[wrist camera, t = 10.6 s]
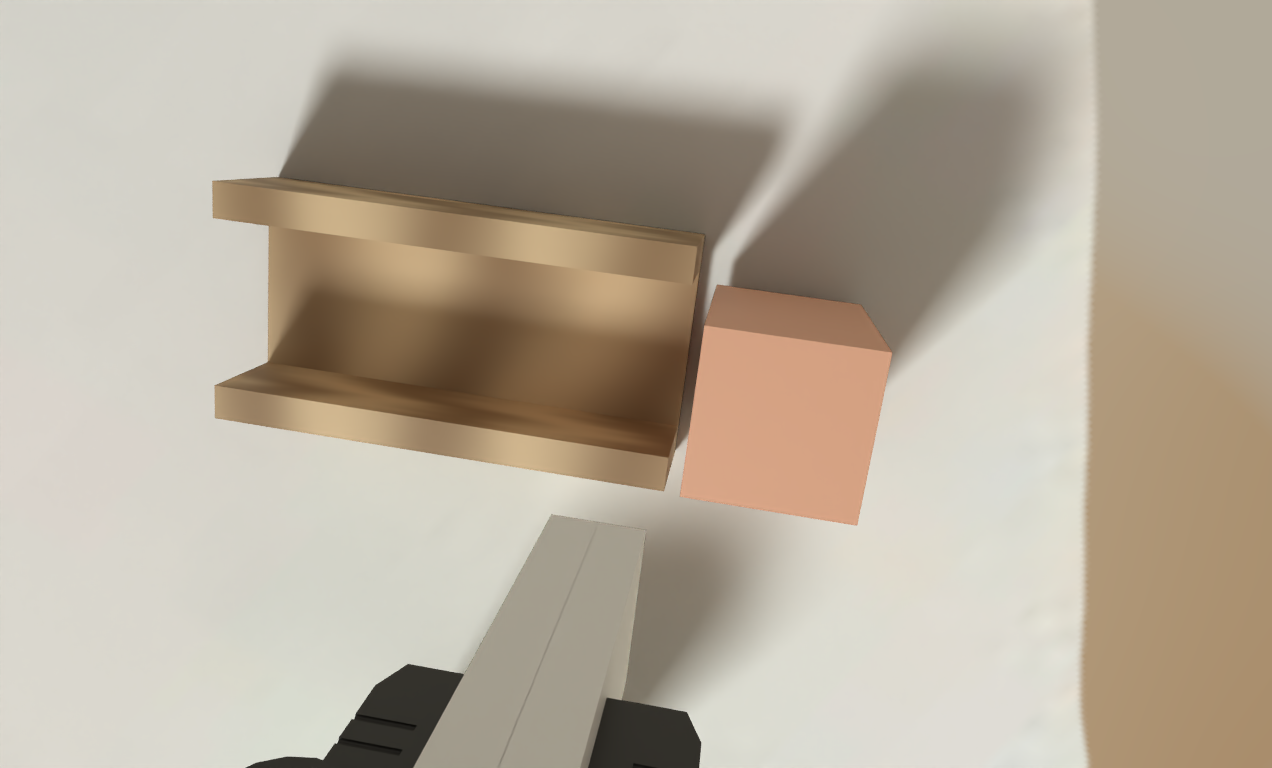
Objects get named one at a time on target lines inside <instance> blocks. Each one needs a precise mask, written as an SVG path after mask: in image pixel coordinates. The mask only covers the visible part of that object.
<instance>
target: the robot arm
mask: <svg viewBox="0 0 1272 768" xmlns="http://www.w3.org/2000/svg"><path fill="white" fill-rule="evenodd" d="M645 536H646V530H643V529H637V528H631V527H625V526H619V525H613V524H607V523H601V522H595V521H588V520H582V519H576V518H570V517H564V516H558V515H551V516H550V518H549V520H548V522H547V524H546V526H545V527H544V529H543V531H542V533H541V535H540V537H539V538H538V540H537V542H536V544H535V546H534V547H533V549H532V551H531V553H530V555H529V557H528V558H527V560H526V562H525V564H524V566H523V568H522V569H521V571H520V573H519V575H518V577H517V579H516V580H515V582H514V584H513V586H512V588H511V590H510V591H509V593H508V595H507V597H506V599H505V601H504V602H503V604H502V606H501V608H500V610H499V612H498V613H497V615H496V617H495V619H494V621H493V623H492V624H491V626H490V628H489V630H488V632H487V634H486V635H485V637H484V639H483V641H482V643H481V645H480V646H479V648H478V650H477V652H476V654H475V656H474V657H473V659H472V661H471V663H470V665H469V667H468V668H467V670H466V672H465V674H460V673H454V672H449V671H443V670H438V669H432V668H427V667H422V666H416V665H411V664H408V665H406V666H404V667H403V668H401V669H400V670H398V671H397V672H395V673H394V674H392V675H391V676H389V677H388V678H386V679H384V680H383V681H381V682H380V683H378V684H377V685H375V687H374V688H373V690H372V691H371V692H370V694H369V695H368V697H367V698H366V700H365V701H364V702H363V704H362V705H361V707H360V708H359V710H358V711H357V713H356V715H355V719H354V720H353V719H352V720H351V721H350V723H349V724H348V725H347V727H346V728H345V730H344V731H343V733H342V734H341V735H340V737H339V741H338V743H337V744H334V745H333V747H332V748H331V750H330V751H329V753H328V754H327V755H326V757H325V758H324V760H320V759H318V758H305V757H283V758H278V759H273V760H268V761H263V762H258V763H255V764H253V765H251V766H248V767H246V768H699V763H700V751H701V741H700V739H699V737H698V735H697V733H696V731H695V729H694V726H693V724H692V722H691V720H690V718H689V716H688V714H687V712H683V711H678V710H672V709H667V708H661V707H656V706H650V705H645V704H639V703H634V702H629V701H623V700H622V697H623V693H624V689H625V685H626V679H627V671H628V664H629V656H630V649H631V641H632V634H633V626H634V619H635V611H636V604H637V596H638V589H639V581H640V574H641V566H642V558H643V551H644V543H645Z"/></svg>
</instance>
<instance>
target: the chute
mask: <svg viewBox="0 0 1272 768" xmlns="http://www.w3.org/2000/svg"><path fill="white" fill-rule="evenodd" d="M212 187H213V218H217V219H224V220H231V221H238V222H246V223H253V224H260V225H267V226H269V276H268V362H267V363H265V364H263V365H261V366H258V367H256V368H254V369H251V370H249V371H247V372H245V373H242V374H240V375H238V376H235V377H233V378H231V379H228V380H226V381H224V382H222V383H219V384H217V385H215V418H217V419H224V420H230V421H236V422H242V423H248V424H254V425H260V426H266V427H273V428H279V429H285V430H291V431H297V432H303V433H309V434H316V435H322V436H328V437H334V438H340V439H346V440H352V441H359V442H365V443H371V444H377V445H383V446H389V447H395V448H401V449H408V450H414V451H420V452H426V453H432V454H438V455H444V456H451V457H457V458H463V459H469V460H475V461H481V462H487V463H493V464H500V465H506V466H512V467H518V468H524V469H530V470H536V471H543V472H549V473H555V474H561V475H567V476H573V477H579V478H585V479H592V480H598V481H604V482H610V483H616V484H622V485H628V486H635V487H641V488H647V489H653V490H659V491H664V489H665V485H666V482H667V478H668V475H669V471H670V467H671V464H672V460H673V457H674V453H675V448H676V440H677V433H678V426H679V419H680V412H681V404H682V397H683V390H684V383H685V376H686V369H687V361H688V354H689V347H690V340H691V333H692V325H693V318H694V311H695V304H696V297H697V290H698V282H699V275H700V268H701V261H702V254H703V246H704V239H705V234H699V233H691V232H684V231H676V230H669V229H661V228H654V227H646V226H639V225H631V224H624V223H617V222H609V221H602V220H594V219H587V218H579V217H572V216H564V215H557V214H549V213H542V212H534V211H527V210H520V209H512V208H505V207H497V206H490V205H482V204H475V203H467V202H460V201H452V200H445V199H437V198H430V197H423V196H415V195H408V194H400V193H393V192H385V191H378V190H370V189H363V188H355V187H348V186H340V185H333V184H326V183H318V182H311V181H303V180H296V179H288V178H281V177H271V178H254V179H237V180H221V181H212Z"/></svg>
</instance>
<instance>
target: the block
mask: <svg viewBox="0 0 1272 768" xmlns="http://www.w3.org/2000/svg"><path fill="white" fill-rule="evenodd" d="M891 357H892V351H891V350H890V348H889V347H888V345H887V344H886V342H885V341H884V339H883V338H882V336H881V335H880V333H879V331H878V330H877V328H876V327H875V325H874V324H873V322H872V321H871V319H870V318H869V316H868V315H867V313H866V312H865V310H864V308H863V307H862V305H860V304H853V303H846V302H839V301H831V300H824V299H817V298H810V297H803V296H796V295H788V294H781V293H774V292H767V291H760V290H752V289H745V288H738V287H731V286H724V285H717V286H716V289H715V293H714V296H713V299H712V302H711V306H710V309H709V312H708V315H707V319H706V322H705V325H704V332H703V339H702V346H701V353H700V360H699V367H698V374H697V381H696V388H695V395H694V402H693V409H692V416H691V423H690V430H689V437H688V443H687V450H686V457H685V464H684V471H683V478H682V485H681V492H680V497H685V498H691V499H697V500H703V501H710V502H716V503H722V504H728V505H734V506H740V507H746V508H752V509H759V510H765V511H771V512H777V513H783V514H789V515H795V516H801V517H808V518H814V519H820V520H826V521H832V522H838V523H844V524H850V525H857V524H858V519H859V514H860V509H861V504H862V499H863V494H864V489H865V484H866V480H867V475H868V470H869V465H870V460H871V455H872V450H873V445H874V440H875V435H876V430H877V426H878V421H879V416H880V411H881V406H882V401H883V396H884V391H885V386H886V381H887V376H888V371H889V367H890V362H891Z"/></svg>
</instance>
